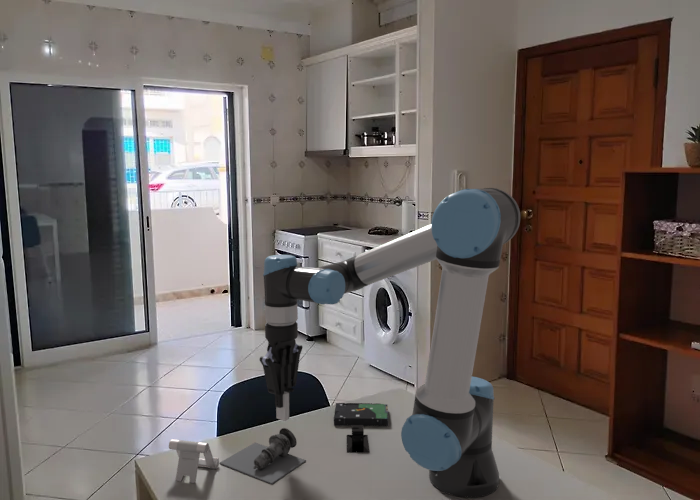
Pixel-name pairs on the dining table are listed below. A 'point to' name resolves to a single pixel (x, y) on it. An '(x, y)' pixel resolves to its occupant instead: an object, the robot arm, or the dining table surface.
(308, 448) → the dining table surface
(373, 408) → the disk drive
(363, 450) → the black boxy piece
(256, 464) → the dark grey turned piece
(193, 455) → the portable electronic device stand
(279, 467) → the mat
